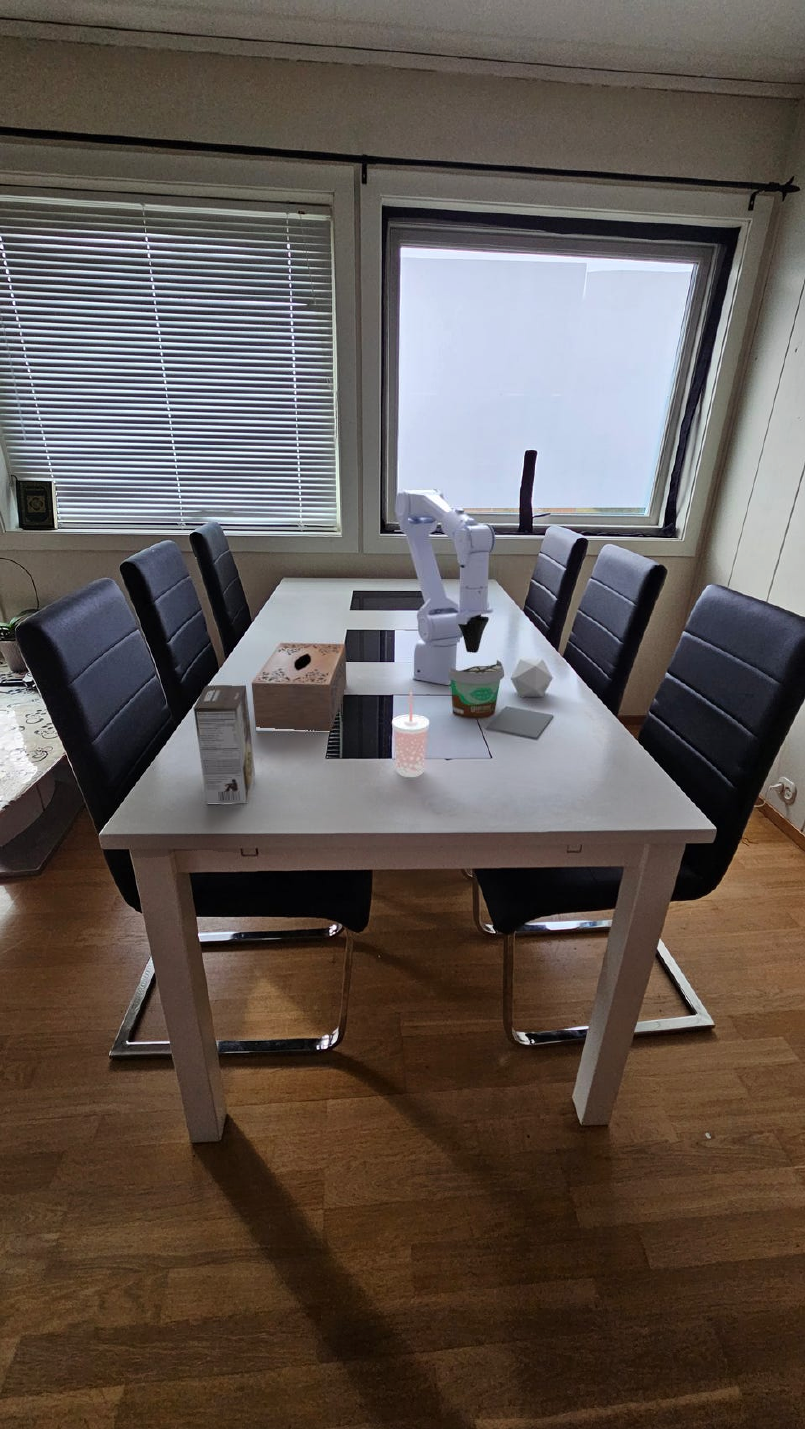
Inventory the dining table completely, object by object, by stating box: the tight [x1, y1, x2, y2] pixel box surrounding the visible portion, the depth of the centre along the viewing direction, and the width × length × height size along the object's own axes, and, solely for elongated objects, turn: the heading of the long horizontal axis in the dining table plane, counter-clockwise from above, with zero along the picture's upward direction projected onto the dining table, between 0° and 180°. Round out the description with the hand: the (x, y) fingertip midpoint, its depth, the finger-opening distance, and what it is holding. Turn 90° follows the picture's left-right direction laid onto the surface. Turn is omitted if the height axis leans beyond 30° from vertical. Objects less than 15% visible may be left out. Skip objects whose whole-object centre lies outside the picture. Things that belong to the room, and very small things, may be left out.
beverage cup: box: [391, 692, 430, 778], centre depth 101 cm, size 6×6×14 cm
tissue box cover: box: [251, 642, 347, 731], centre depth 128 cm, size 26×14×10 cm, turn 178°
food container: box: [448, 659, 505, 720], centre depth 124 cm, size 12×6×10 cm, turn 117°
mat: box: [485, 705, 554, 740], centre depth 122 cm, size 10×12×1 cm
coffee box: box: [193, 684, 256, 804], centre depth 94 cm, size 9×6×16 cm
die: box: [510, 658, 554, 698], centre depth 135 cm, size 8×9×10 cm
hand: (472, 651), depth 130 cm, fingers closed
